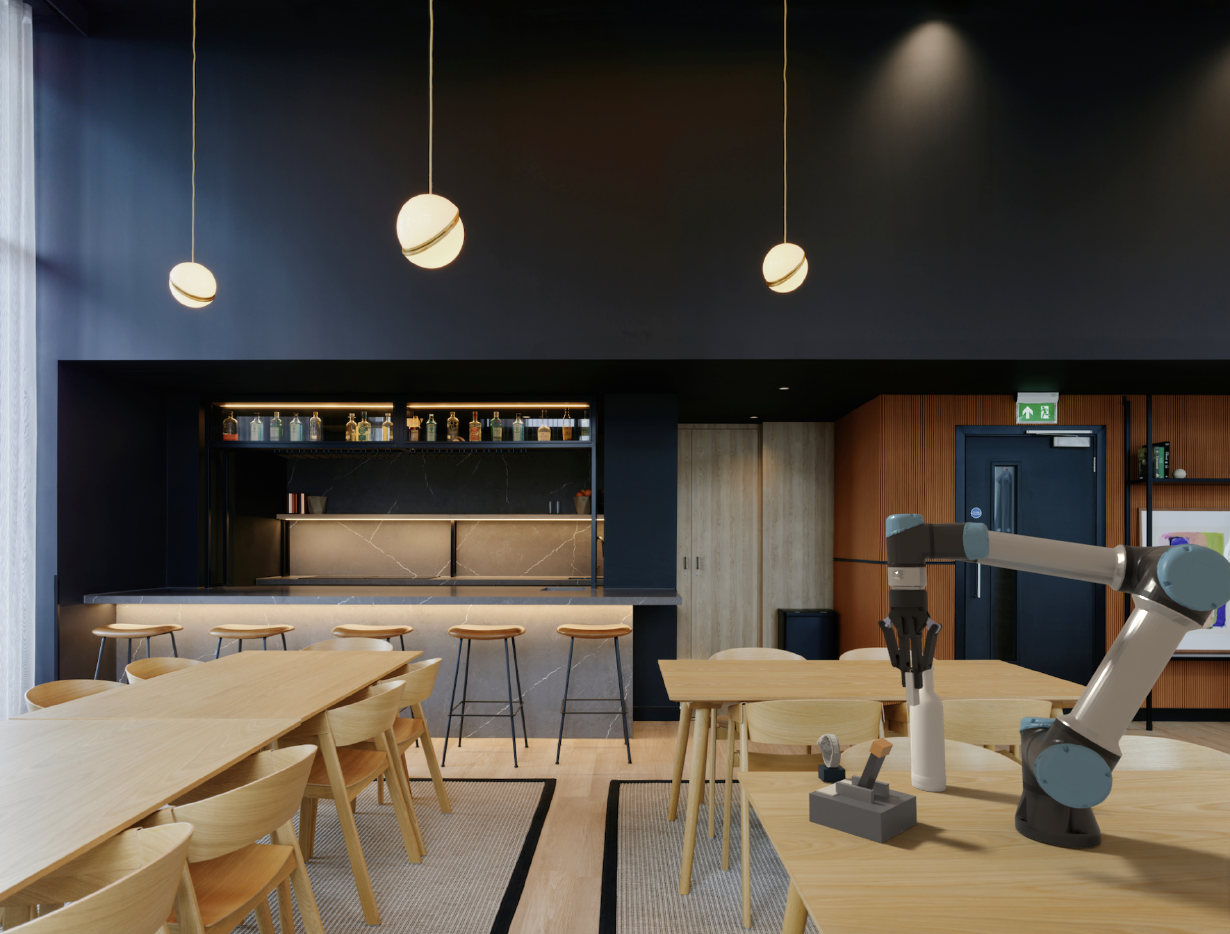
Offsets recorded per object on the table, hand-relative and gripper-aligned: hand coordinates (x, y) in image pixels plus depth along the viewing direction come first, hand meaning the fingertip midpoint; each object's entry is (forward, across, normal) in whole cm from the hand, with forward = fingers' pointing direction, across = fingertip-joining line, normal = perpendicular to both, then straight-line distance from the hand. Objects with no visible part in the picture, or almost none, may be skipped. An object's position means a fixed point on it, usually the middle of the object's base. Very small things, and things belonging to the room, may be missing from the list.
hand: (913, 704), depth 151 cm
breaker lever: (+20, -12, -1) cm, 23 cm away
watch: (+26, -32, +21) cm, 46 cm away
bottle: (+26, -14, +34) cm, 45 cm away
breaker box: (+26, -12, -1) cm, 28 cm away
